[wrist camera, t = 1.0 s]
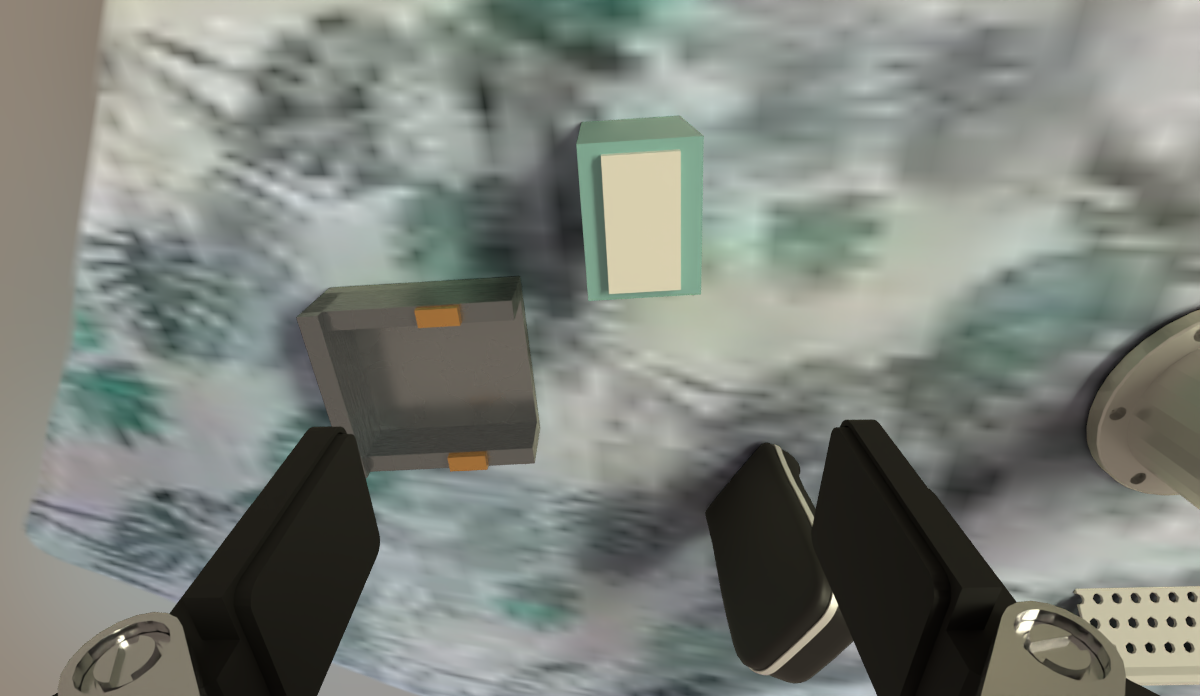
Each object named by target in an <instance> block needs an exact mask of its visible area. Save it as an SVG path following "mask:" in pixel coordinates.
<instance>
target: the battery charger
mask: <svg viewBox="0 0 1200 696" xmlns="http://www.w3.org/2000/svg"><path fill="white" fill-rule="evenodd" d="M799 474H800V466H799V464H798V462H797V461H796V460H795V458H794V457H793V456H792V455H790V454H789V453H788V452H786V451H784V450H782V449H781V448H780V447H779V446H777V445H775V444H770V443H763V444H762V445H761V446H760V447H759V448H758V449H757V450H756V451H755V453H754V454H753V455H752V456H751V457H750V458H749V459H748V461H747V462H746V463H745V464H744V465H743V466H742V468H741V469H740V470H739V471H738V472H737V474H736V475H735V476H734V477H733V478H732V479H731V481H730V482H729V483H728V484H727V486H726V487H725V488H724V489H723V490H722V492H721V493H720V494H719V495H718V497H717V498H716V499H715V500H714V502H713V503H712V504H711V505H710V507H709V508H708V509H707V510H706V519H707V523H708V527H709V531H710V536H711V540H712V544H713V549H714V555H715V561H716V567H717V572H718V577H719V583H720V588H721V593H722V598H723V603H724V608H725V612H726V617H727V621H728V625H729V629H730V633H731V637H732V641H733V645H734V648H735V651H736V653H737V656H738V657H739V658H740V660H741V661H742V663H743V664H744V665H746V666H748V667H749V668H750V669H751V670H752V671H753V672H756V673H758V674H761V675H770V676H773V677H775V678H778V679H781V680H783V681H786V682H790V683H801V682H804V681H807V680H808V679H810V678H811V677H813V676H814V675H815V674H817V673H818V672H819V671H820V670H821V669H823V668H824V667H825V666H826V665H827V664H829V663H830V662H831V661H832V660H833V659H835V658H836V657H837V656H838V655H839V654H840V653H841V652H842V651H843V650H844V649H845V648H847V647H848V646H849V645H850V644H851V643H852V642H853V638H852V636H851V634H850V631H849V629H848V627H847V624H846V622H845V620H844V617H843V615H842V613H841V611H840V608H839V606H838V604H837V601H836V599H835V597H834V594H833V592H832V590H831V587H830V585H829V583H828V581H827V578H826V576H825V574H824V571H823V569H822V567H821V564H820V562H819V560H818V557H817V555H816V553H815V550H814V548H813V544H812V537H811V531H812V525H813V520H814V515H815V511H816V509H815V507H814V505H813V503H812V501H811V499H810V498H809V496H808V494H807V492H806V491H805V489H804V487H803V485H802V482H801V480H800V477H799Z"/></svg>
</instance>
